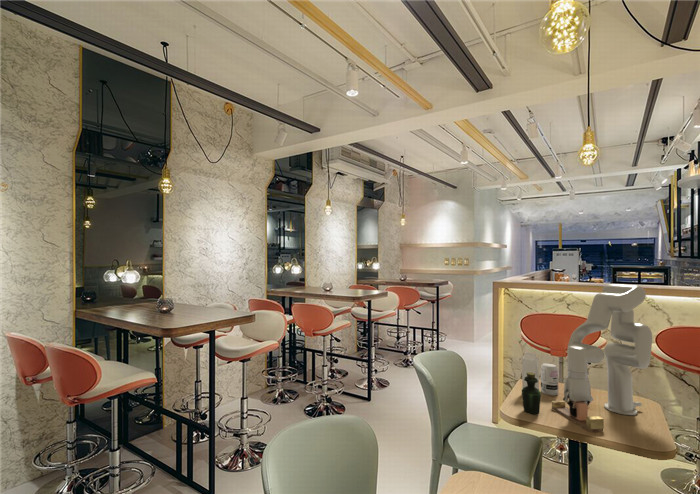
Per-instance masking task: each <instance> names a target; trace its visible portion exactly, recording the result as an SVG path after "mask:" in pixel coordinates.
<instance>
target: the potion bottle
mask: <svg viewBox="0 0 700 494" xmlns="http://www.w3.org/2000/svg"><path fill="white" fill-rule="evenodd" d="M524 380H525V381H527V385H528V386H526V387H524V388H523V387H522V388H521V395H522V396H521V397H522V398H521V399H522V405H523V407H522V408H523V411H524V413H526V414H529V415H534V416H537V415H539V414H540V408H541V407H540V406H541V396H542V391H541V390H540V389H539V390H538V389H537V388H535V383H537V382H538V380H537V378H535V373H532V372H527V377H525V379H524Z"/></svg>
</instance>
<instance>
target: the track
mask: <svg viewBox="0 0 700 494" xmlns="http://www.w3.org/2000/svg"><path fill="white" fill-rule="evenodd" d="M551 410H553V411H555V412H557V413H558V414H559V415H561V416H563V417H565V418H566V419H568V420H570V421H571V422H573V423H575V424H577V425H578V426H580V427H582V428H583V429H585V430H587V431H588V432H591V433H594V432H604V428H603V429H590V428H588V427H586V420H581V421H579V420H578V419H576V418H574V417H573V416H571V415H569V407H566V402H565V401H563V400H552V401H551Z"/></svg>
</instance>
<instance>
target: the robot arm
mask: <svg viewBox="0 0 700 494" xmlns="http://www.w3.org/2000/svg"><path fill="white" fill-rule="evenodd" d="M646 298H647V293H646V290H645V289H644V288H643V287H642V286H639V285H635V284H633V285H632V284H619V283H617V284H615V283H612V284H610V283H609V284H605V285H604V286H603V287H602V292H599V293H596V294H595V295H594V297H593V300H592V301H591V302H592V304H591V305H590V309H589V313H588V316H587V319H586V320H585V322H583V323H581V325H579V326H577V328H576V329H574V330H573V332H572V334H571V335H570V338H569V341H568V343H567V350H566V351H567V353H566V354H567V359H566V360H567V375H566V376H565V379H564V387H563V398H562V401H565V404H567V405H568V407H569V406H570V415H572V416H573V417H577V409H576V408H575V406H576V401H583V402H585V403H587V405H588V406H589V405H590V403H592V402H594V398H593V396H592V389H591V384H590V379H589V377H588V376H589V375H590V372H589V370H588V364H599V363H601V362H602V361H603V360H605V361H606V368H607V369H606V370H607V373H606V374H607V402H605V403H604V404H603V405H604V408H605V409H606V410H608V411H610V412H613V413H615V414H619V415H624V416H636V415H637V414H638V410H637V409H636V407H642V405H643V404H642V402H641V401H634V399H633V398H634V397H633V396H634V395H633V394H634V391H633V373H632V371H631V369H630V367H631V368H635V369H639V370H640V369H641V370H643V369H644V370H645V369H647V368H648V367H649V366H650V364H651V360H652V359H651V356H652V345H653V333H652V329H651V328H650V327H649V326H648V325H646V324H644V323H637V322H635V317H634V316H635V311H634V309H636V308H637V307H639V306H640V305H641V304H643V303H644V301H645V300H646ZM609 327H610V330H609V331H610V336H611V337H612V339H614V340H618V341H622V342H625V343H620V342H609V343H607V344H606V345H605V346H604V350H603V349H602V348H601V347H598V346H597V345H592V344H588V343H584V342H583V340H584V339H585V338H586V337H587V336H588V335H590V334H593V333H598V332H601V331H604V330H607V329H608V328H609ZM626 342H627V343H631V344H634V345H630V344H626ZM572 402H573V403H572Z"/></svg>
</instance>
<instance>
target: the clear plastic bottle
mask: <svg viewBox="0 0 700 494" xmlns="http://www.w3.org/2000/svg"><path fill="white" fill-rule="evenodd" d="M521 364H522V366H521V369H522V370H521V372H522V375H521V377H522V379H521V380H522V385H521V386H522V389H523V388H524V387H526V386H528V385H527V381H525V380H524V379H525V377H527V372H532V373H535V378H537V380H538V382H537V383H535V388H537V389H538V390H539V391H540V379H539V377H540V374H539V373H540V372H539V367H540V366H539V365H540V364H539V358H538V357H537V354H536V353H535V352H530V351H524V355H523V356H522V358H521Z"/></svg>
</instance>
